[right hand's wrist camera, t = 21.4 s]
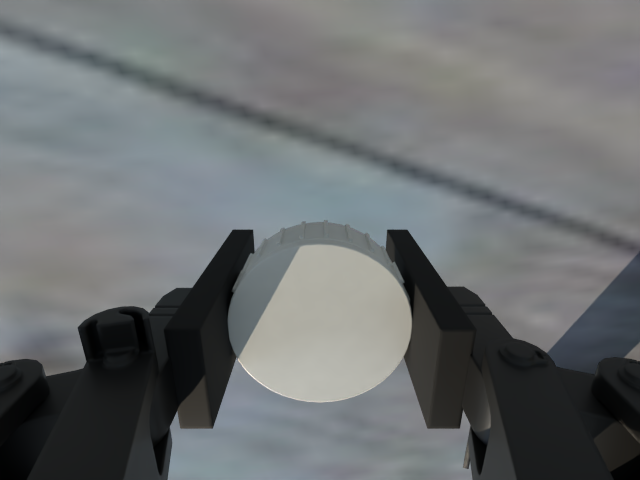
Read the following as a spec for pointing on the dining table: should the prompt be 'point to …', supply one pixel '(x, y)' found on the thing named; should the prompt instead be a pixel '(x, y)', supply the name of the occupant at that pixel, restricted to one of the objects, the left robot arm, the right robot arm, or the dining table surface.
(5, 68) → the dining table surface
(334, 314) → the lid
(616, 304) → the dining table surface
